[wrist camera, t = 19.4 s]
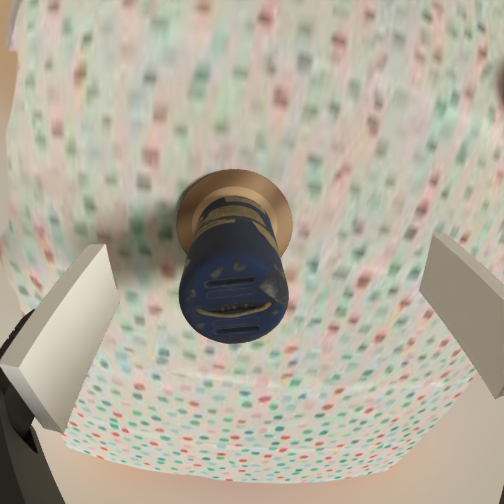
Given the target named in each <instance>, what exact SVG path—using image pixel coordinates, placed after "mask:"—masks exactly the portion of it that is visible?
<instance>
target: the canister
mask: <svg viewBox="0 0 504 504" xmlns="http://www.w3.org/2000/svg"><path fill="white" fill-rule="evenodd" d="M288 300H289V292H288V285H287V281H286V278H285V274H284V270H283V267H282V263H281V259H280V255H279V250H278V245H277V241H276V238H275V234H274V231H273V228H272V225H271V221H270V218H269V216H268V214H267V213H266V211H265V210H264V209H263V208H262V207H261V206H260V205H259V204H258V203H256V202H255V201H253V200H252V199H249V198H247V197H243V196H237V195H233V196H225V197H222V198H219V199H217V200H215V201H213V202H212V203H211V204H209V205H208V206H207V207H206V208H205V209H204V211H203V212H202V214H201V215H200V217H199V219H198V222H197V225H196V229H195V232H194V236H193V238H192V240H191V243H190V244H189V251H188V255H187V259H186V262H185V266H184V270H183V274H182V278H181V282H180V286H179V303H180V308H181V310H182V313H183V315H184V317H185V319H186V320H187V322H188V323H189V324H190V325H191V327H192V328H193V329H194V330H196V331H197V332H198V333H200V334H201V335H203V336H205V337H207V338H209V339H211V340H214V341H217V342H221V343H226V344H237V343H245V342H249V341H253V340H256V339H259V338H260V337H262V336H264V335H266V334H267V333H269V332H270V331H272V330H273V329H274V328H275V327H276V326H277V325H278V324H279V323H280V321H281V320H282V318H283V316H284V314H285V312H286V309H287V306H288Z"/></svg>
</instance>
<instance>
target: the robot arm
mask: <svg viewBox="0 0 504 504" xmlns="http://www.w3.org/2000/svg"><path fill="white" fill-rule="evenodd" d="M419 291H420V292H421V294H422V295H423V296H424V297H425V299H426V300H427V301H428V303H429V304H430V305H431V306H432V308H433V309H434V310H435V312H436V313H437V314H438V316H439V317H440V318H441V320H442V321H443V322H444V324H445V325H446V327H447V328H448V329H449V331H450V332H451V333H452V335H453V336H454V338H455V339H456V340H457V342H458V343H459V345H460V346H461V348H462V349H463V350H464V352H465V353H466V355H467V356H468V358H469V359H470V361H471V362H472V364H473V365H474V367H475V368H476V370H477V371H478V373H479V374H480V376H481V377H482V379H483V380H484V382H485V384H486V385H487V387H488V388H489V390H490V391H491V393H492V395H493V396H494V398H495V399H496V398H498V397H501V396H503V395H504V284H503V283H502V282H501V281H500V280H498V279H497V278H496V277H495V276H494V275H493V274H492V273H491V272H490V271H489V270H488V269H486V268H485V267H484V266H483V265H482V264H481V263H480V262H479V261H477V260H476V259H475V258H474V257H473V256H472V255H471V254H469V253H468V252H467V251H466V250H465V249H464V248H462V247H461V246H460V245H459V244H458V243H456V242H455V241H454V240H453V239H452V238H450V237H449V236H448V235H447V234H433V235H432V240H431V244H430V249H429V253H428V258H427V262H426V266H425V270H424V274H423V277H422V281H421V285H420V289H419ZM119 304H120V301H119V297H118V293H117V290H116V286H115V282H114V278H113V274H112V270H111V266H110V262H109V257H108V253H107V248H106V244H89V245H88V246H87V247H86V248H85V249H84V250H83V252H82V253H81V254H80V255H79V256H78V257H77V259H76V260H75V261H74V262H73V263H72V264H71V266H70V267H69V268H68V269H67V270H66V272H65V273H64V274H63V275H62V276H61V278H60V279H59V280H58V281H57V283H56V284H55V285H54V286H53V288H52V289H51V290H50V291H49V293H48V294H47V295H46V296H45V298H44V299H43V300H42V302H41V303H40V304H39V306H38V307H37V308H36V309H33V310H32V311H31V312H29V313H28V314H27V315H25V316H24V317H23V318H22V319H21V320H20V322H19V323H18V324H17V326H16V327H15V330H13V331H12V333H11V334H10V335H9V339H7V340H6V341H5V342H4V344H3V345H2V347H1V348H0V504H65V502H64V500H63V497H62V496H61V493H60V491H59V489H58V487H57V485H56V482H55V480H54V478H53V476H52V474H51V471H50V468H49V466H48V464H47V461H46V459H45V456H44V453H43V451H42V448H41V445H40V443H39V440H38V437H37V434H36V431H35V430H34V428H33V426H32V425H31V424H32V421H33V419H34V417H35V418H36V419H37V420H38V422H40V424H41V425H42V427H43V428H46V429H49V430H53V431H57V432H61V433H64V431H65V428H66V426H67V423H68V420H69V418H70V415H71V413H72V410H73V407H74V405H75V402H76V400H77V397H78V395H79V392H80V390H81V387H82V385H83V383H84V380H85V378H86V376H87V373H88V371H89V369H90V366H91V364H92V362H93V359H94V357H95V355H96V353H97V350H98V348H99V346H100V344H101V342H102V339H103V337H104V335H105V333H106V331H107V329H108V327H109V324H110V322H111V320H112V318H113V316H114V314H115V312H116V310H117V308H118V306H119ZM499 504H504V487H503V491H502V495H501V499H500V502H499Z"/></svg>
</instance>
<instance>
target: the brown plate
mask: <svg viewBox="0 0 504 504" xmlns="http://www.w3.org/2000/svg"><path fill="white" fill-rule="evenodd" d="M233 195H237V196H243V197H247V198H249V199H252V200H253V201H255V202H256V203H258V204H259V205H260V206H261V207H262V208H263V209H264V210H265V211H266V213H267V214H268V216H269V218H270V221H271V225H272V228H273V231H274V234H275V238H276V241H277V245H278V250H279V255H280V257H281V256H282V255H283V253H284V252H285V250H286V248H287V246H288V245H289V242H290V239H291V235H292V227H293V222H292V214H291V210H290V207H289V205H288V202H287V200H286V198H285V197H284V195H283V194H282V192H281V191H280V190H279V188H278V187H277V186H276V185H275V184H274V183H272V182H271V181H270V180H268V179H267V178H265V177H263V176H261V175H259V174H257V173H254V172H251V171H247V170H239V169H229V170H222V171H219V172H215V173H212V174H210V175H208V176H206V177H204V178H203V179H201V180H200V181H198V182H197V183H196V184H195V185H194V186H193V187H192V188H191V189H190V190H189V191H188V193H187V194H186V196H185V197H184V199H183V201H182V203H181V205H180V208H179V211H178V216H177V233H178V237H179V241H180V243H181V246H182V248H183V249H184V251H185V253H186V254H187V255H188V251H189V244H190V243H191V240H192V238H193V236H194V232H195V229H196V225H197V222H198V219H199V217H200V215H201V214H202V212H203V211H204V209H205V208H206V207H207V206H208V205H209V204H211V203H212V202H213V201H215V200H217V199H219V198H222V197H225V196H233Z"/></svg>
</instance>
